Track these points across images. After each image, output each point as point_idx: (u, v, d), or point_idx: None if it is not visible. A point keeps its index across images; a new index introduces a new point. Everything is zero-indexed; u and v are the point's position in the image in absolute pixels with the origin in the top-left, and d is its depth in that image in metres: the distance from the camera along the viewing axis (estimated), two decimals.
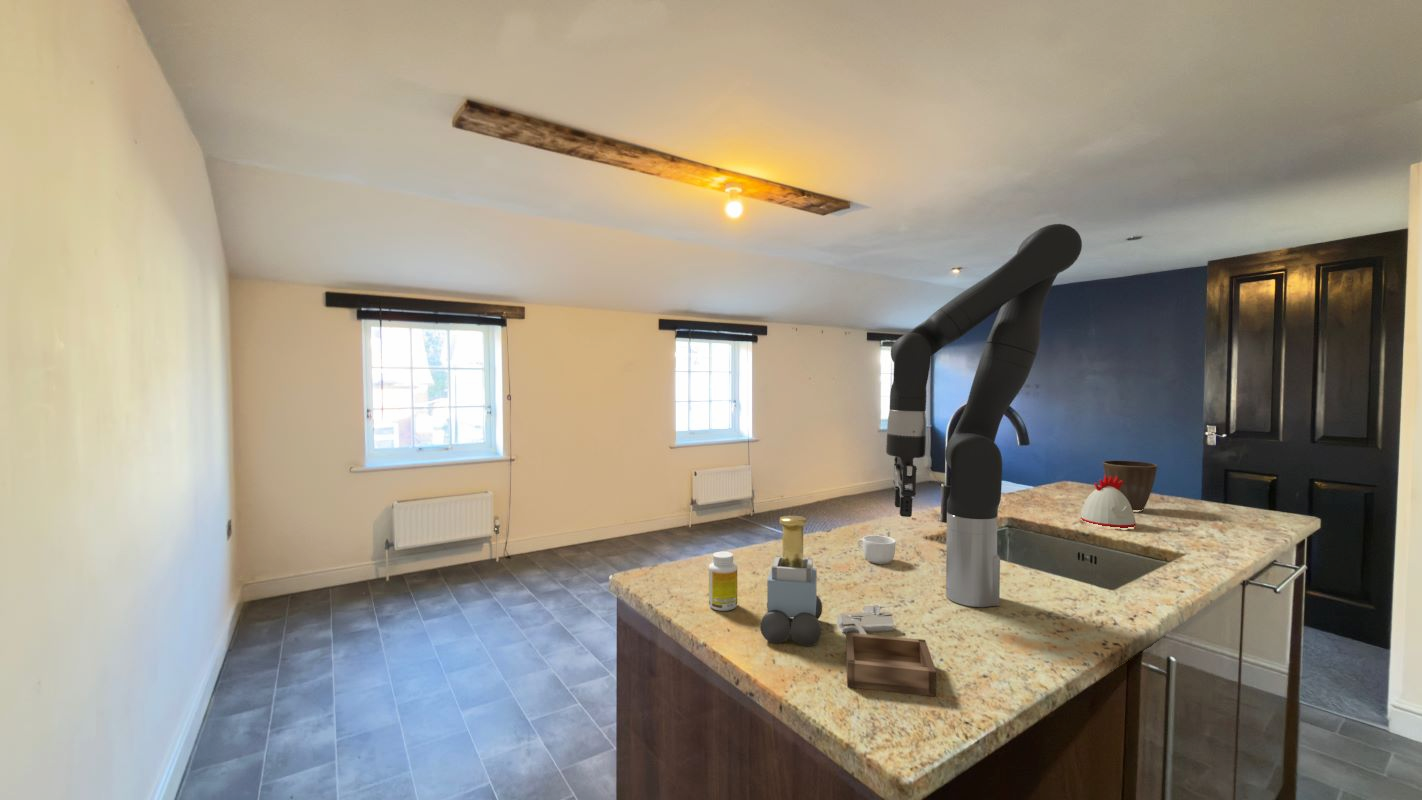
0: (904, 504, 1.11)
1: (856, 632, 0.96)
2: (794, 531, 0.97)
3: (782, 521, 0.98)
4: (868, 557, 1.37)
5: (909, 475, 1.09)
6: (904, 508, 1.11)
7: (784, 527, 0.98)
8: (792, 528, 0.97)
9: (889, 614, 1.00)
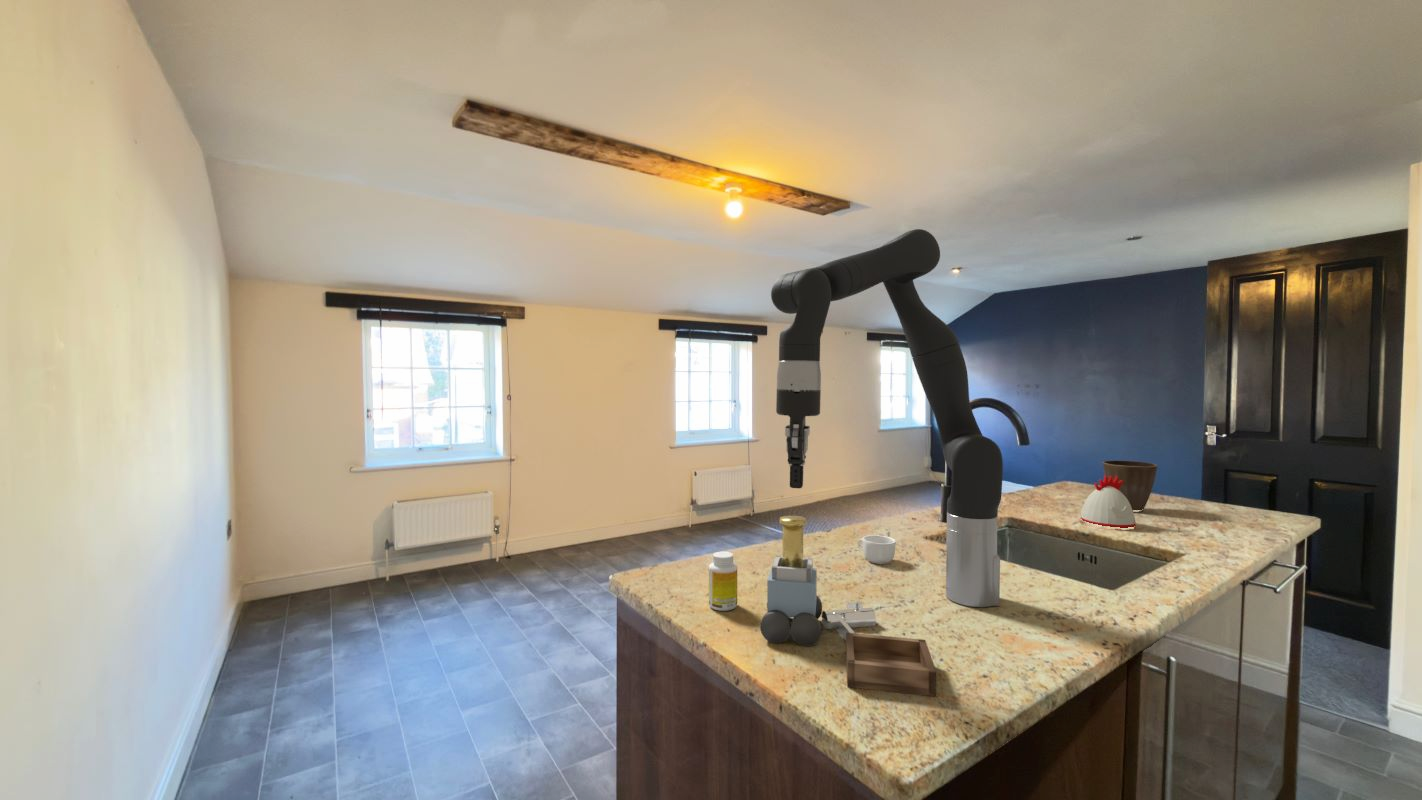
0: None
1: (841, 628, 0.98)
2: (794, 531, 0.97)
3: (782, 521, 0.98)
4: (868, 557, 1.37)
5: None
6: None
7: (784, 527, 0.98)
8: (792, 528, 0.97)
9: (871, 610, 1.02)
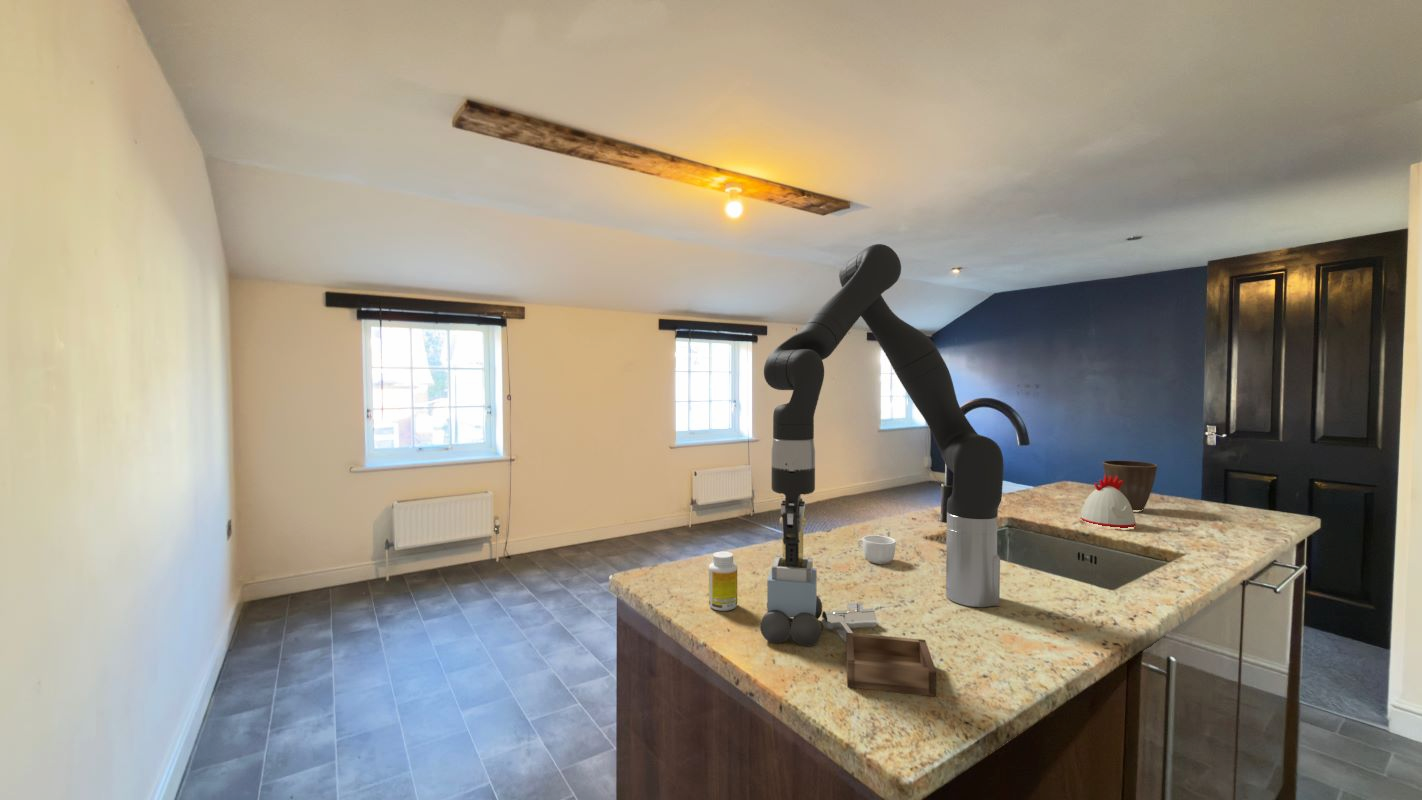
0: None
1: (841, 629, 0.97)
2: None
3: None
4: (868, 557, 1.37)
5: None
6: None
7: None
8: None
9: (872, 611, 1.02)
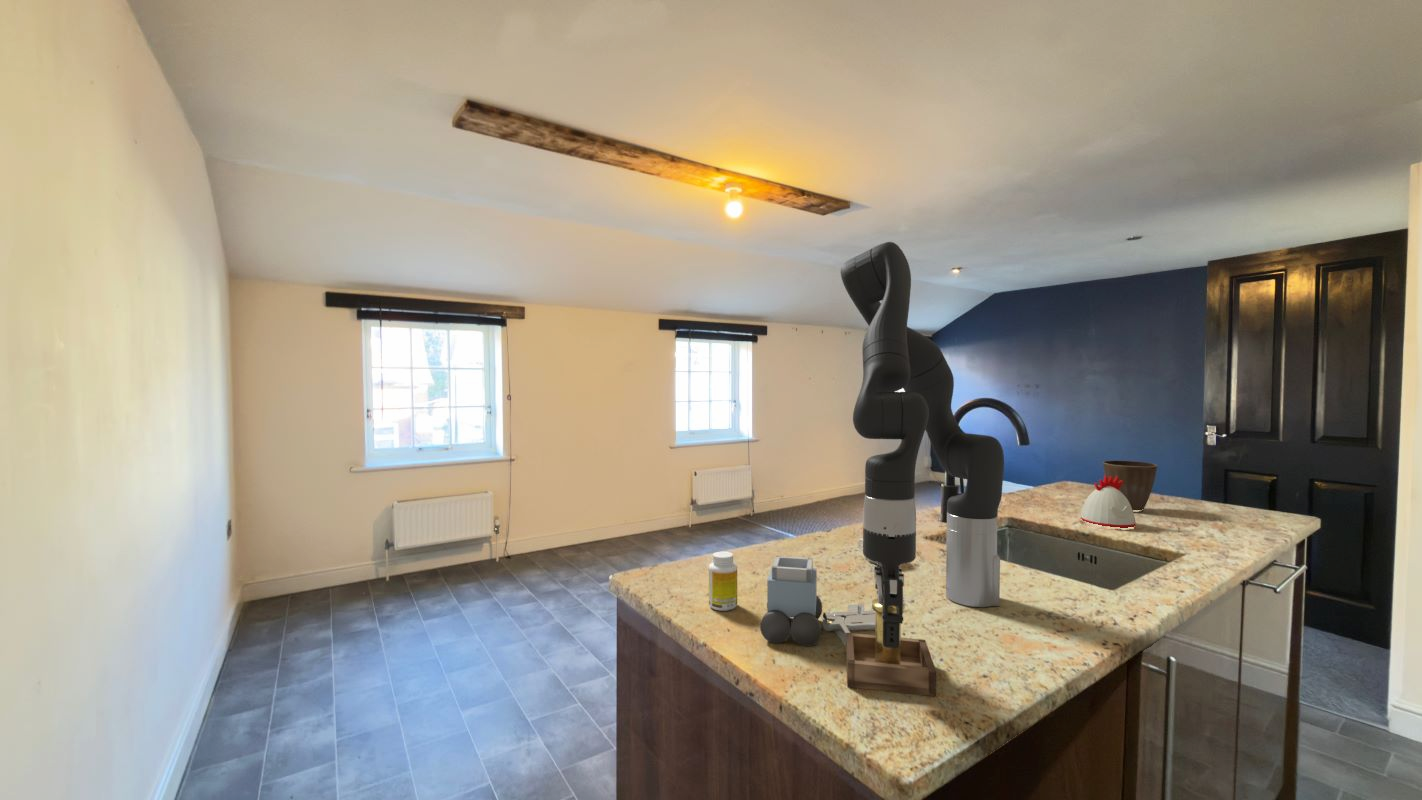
0: None
1: (840, 630, 0.97)
2: None
3: (877, 608, 0.83)
4: None
5: None
6: None
7: (879, 614, 0.83)
8: None
9: (873, 613, 1.00)
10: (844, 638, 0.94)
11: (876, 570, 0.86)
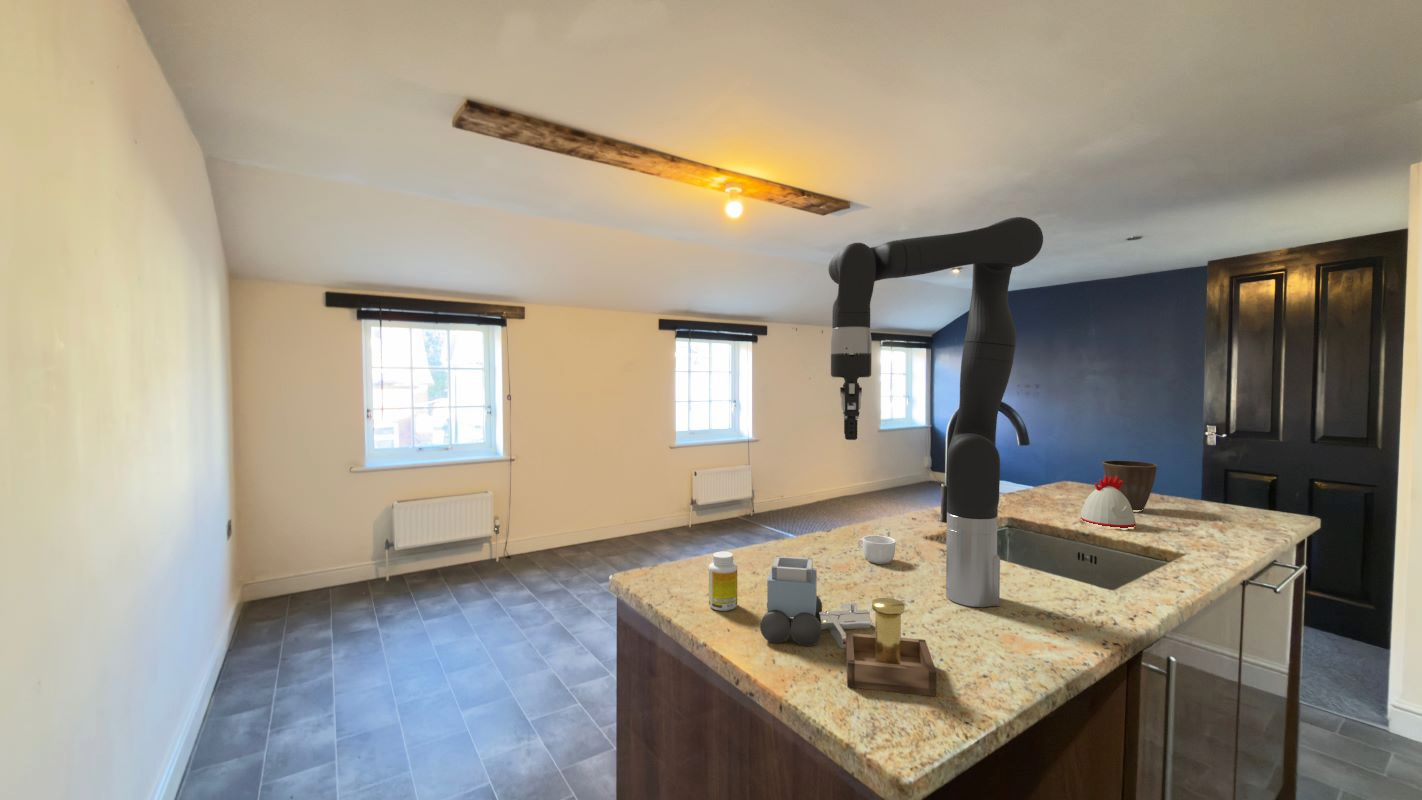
0: None
1: (834, 629, 0.97)
2: (891, 620, 0.82)
3: (877, 608, 0.83)
4: (868, 557, 1.37)
5: None
6: None
7: (879, 614, 0.83)
8: (889, 616, 0.82)
9: (866, 612, 1.01)
10: (838, 637, 0.95)
11: None
